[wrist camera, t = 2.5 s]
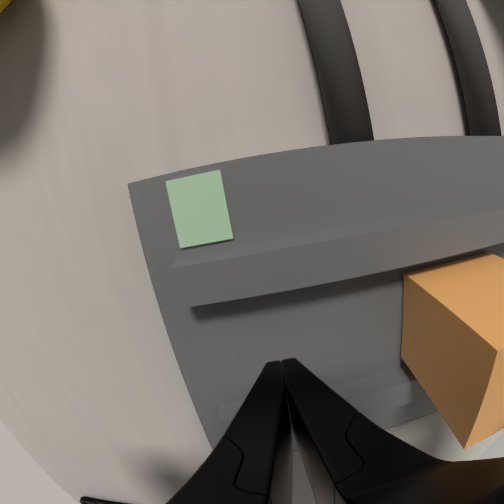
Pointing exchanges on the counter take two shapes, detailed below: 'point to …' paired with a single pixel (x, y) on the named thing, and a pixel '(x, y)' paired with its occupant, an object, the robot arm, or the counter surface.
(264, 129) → the counter surface
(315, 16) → the dark grey parallel rods
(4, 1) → the lemon
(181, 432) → the counter surface
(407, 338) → the light orange rectangular block
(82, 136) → the counter surface
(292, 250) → the plate
